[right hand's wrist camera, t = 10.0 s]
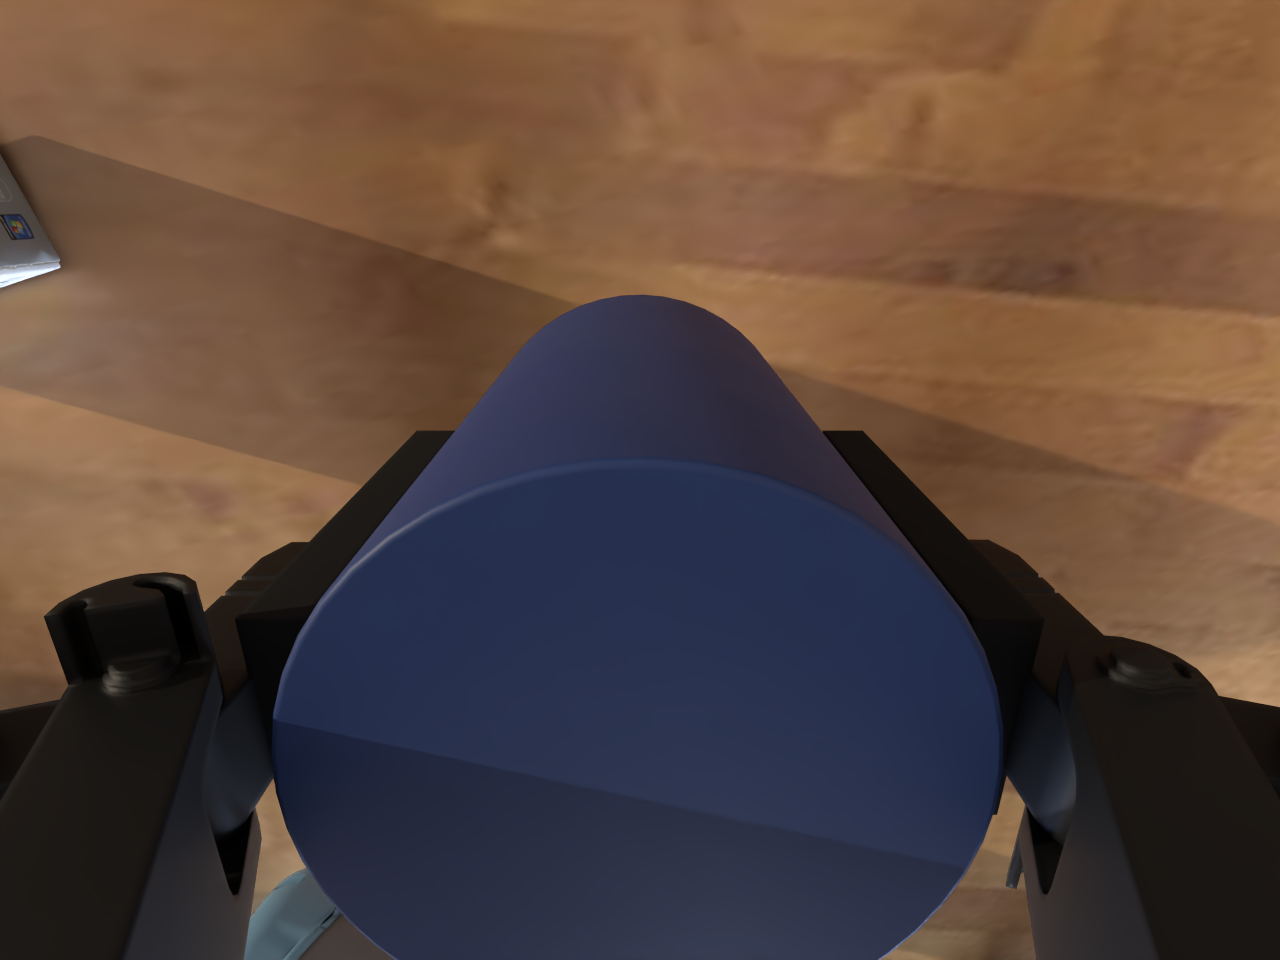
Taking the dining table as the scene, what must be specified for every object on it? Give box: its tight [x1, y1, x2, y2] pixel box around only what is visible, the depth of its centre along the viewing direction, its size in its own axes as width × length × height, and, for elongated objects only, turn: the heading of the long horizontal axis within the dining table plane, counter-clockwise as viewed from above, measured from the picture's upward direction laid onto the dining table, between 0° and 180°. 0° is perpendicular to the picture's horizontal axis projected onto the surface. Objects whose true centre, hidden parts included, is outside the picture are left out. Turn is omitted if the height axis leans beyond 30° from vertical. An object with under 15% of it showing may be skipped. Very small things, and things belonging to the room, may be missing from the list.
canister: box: [271, 295, 1003, 960], centre depth 12 cm, size 7×7×10 cm
